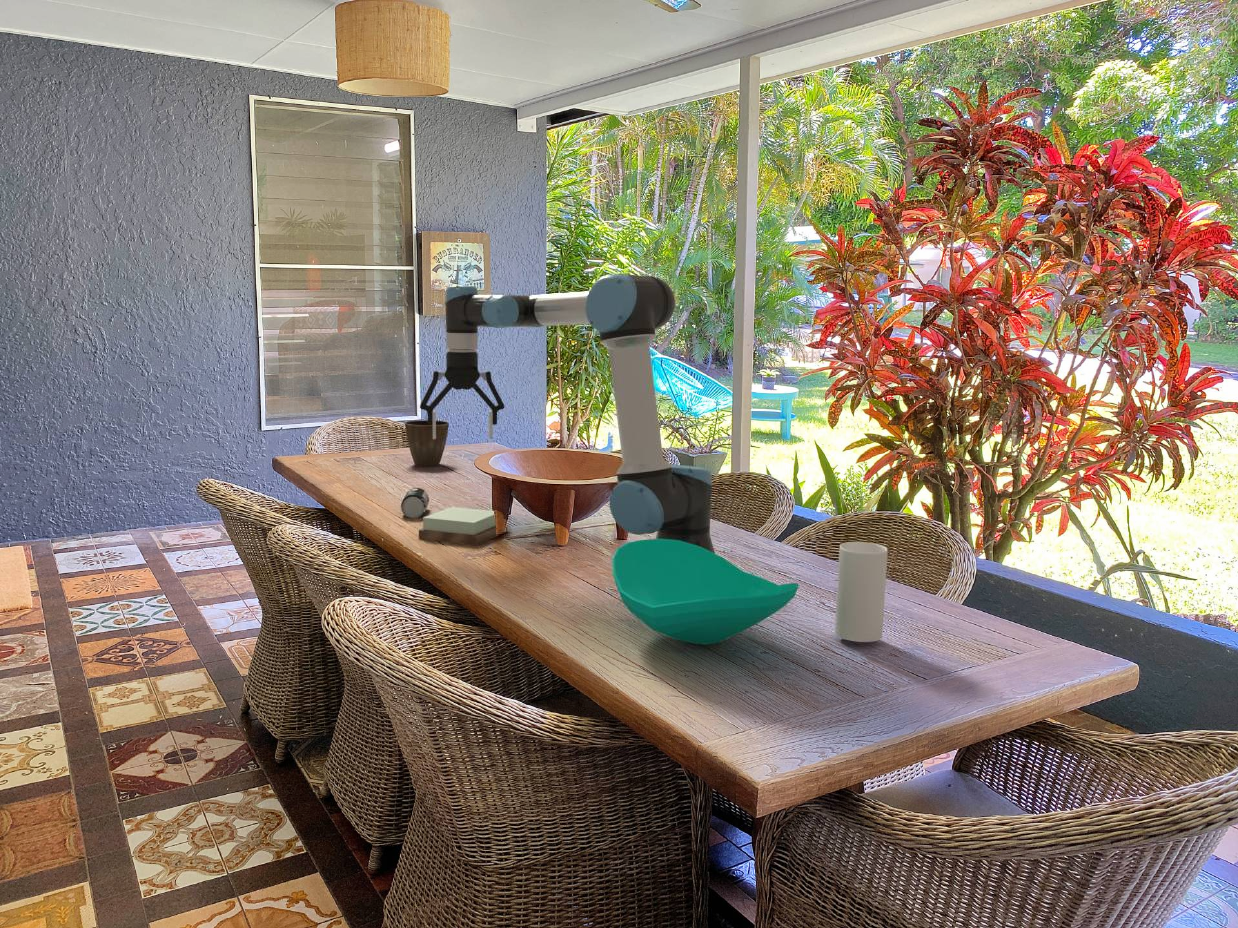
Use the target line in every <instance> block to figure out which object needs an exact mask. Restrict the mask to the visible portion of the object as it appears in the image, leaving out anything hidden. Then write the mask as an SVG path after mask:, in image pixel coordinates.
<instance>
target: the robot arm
mask: <svg viewBox="0 0 1238 928" xmlns="http://www.w3.org/2000/svg"><path fill="white" fill-rule="evenodd" d="M478 293H479V292H478V288H477V287H476V286H473V285H450V286H449V285H448V287H447V288H446V291H445V302H444V306H445V329H446V330H445V348H446V349H447V350H448V351H447V352H446V355H445V358H446V360H445V361H446V369H445V372H444V371H438V370H434V371H433V375H432V379H431V382H430V385H429V386H428V389H427V390H426V392H425V395H424V396H423V399H422V401H421V402H420V405H419V408H420V409H421V410H424V411H426V412H427V420H428V425H433V439H436V421H437V417H436V416H437V415H436V412H437V411H436V410H434V409H435V408H436V407H437V406H438V405H439V403H441V401H442V400H443V399H444V398H445V396H447V394H448V393H449V392H450V391H451V390H452V388H453V389H454V390H457V391H458V390H468V391H469V390H471V389H473V390H474V391H475V392H476V393H477V394H478V396H479V397H480V398H481V399H482V400H483V402H485V405H487V406H488V407H489V408H490V409H491V410H488V438H489V439H490V440H491V439H494V438H493V437H494V436H493V434H494V433H493V432H494V431H493V429H494V427H493V425H498V412H499V411H501V410H504V409H505V404H504V402H503V400H502V397H501V396H500V394H499V392H498V391H497V388H496V386H495V384H494V381H493V380H492V373H491V371H490V370H486V371H479V363H478V362H479V354H478V352H477V350H478V349H479V348H478V347H479V344H478V343H479V341H478V340H479V339H478V338H479V337H478V336H479V335H478V333H479V330H478V327H482V328H483V327H485V328H495V329H504V328H517V327H519V328H540V327H550V326H552V327H553V326H554V327H555V326H577V325H592V328H593V329H595V330H596V331H597V332H599V340H600V344H601V345H603V347H605V348H606V349H607V351H608V355H609V362H610V370H611V379H612V386H613V387H612V388H613V395H614V401H615V404H614V405H615V413H616V418H617V426H618V427H617V428H618V435H619V436H618V438H619V444H620V451H621V459H622V463H621V465H620V466H619V468H618V470H617V471H616V478H617V484H616V485H615V486H614V487H613V489H612V491H611V492H610V495H609V500H608V501H609V510H610V513H611V516H612V517H613V520H614V521H615V523H616V524H617V525H618V526H620V527H621V528H622V530H623V531H625V532H626V533H628V534H631V535H635V536H637V535H638V536H641V535H642V536H643V535H647V534H650V535H651V534H654V533H656V532H657V534H656V536H655V539H669V540H679V541H683V542H686V543H690V544H693V545H696V546H700V547H702V548H704V549H706V550H708V551H710V552H712V553H715V554H716V551H715V548H714V545H713V544H714V543H713V542H712V538H711V510H712V488H713V484H712V473H711V471H710V470H709V469H708V468H705V467H701V466H700V467H699V466H693V465H683V464H672V463H669V462H668V461H667V460H665V459H664V455H663V447H662V446H663V445H662V440H661V439H662V438H661V430H660V423H659V421H660V420H659V413H658V405H657V404H658V403H657V397H656V395H657V394H656V390H655V381H654V380H655V379H654V373H653V363H652V355H651V348H650V345H651V343H652V342H653V341H654V339H655V338H656V330H658V329H660V328H662V327H663V326H665V325H667V323H669V321H670V320H671V319H672V318H673V316H674V312H675V309H676V297H675V293H674V291H673V290H672V288H671V286H670V285H669V284H668V282H666V281H665V280H663V279H661V278H659V277H656V276H652V275H638V274H637V275H636V274H627V273H616V274H608V275H604V276H602V277H600V278H599V279H597V280H596V281H595V282H594V283H593V284H592V287H591V288H590V289H589V290H587V291H576V292H575V291H574V292H562V293H561V292H560V293H548V294H546V293H545V294H532V295H515V294H514V295H513V294H503V293H501V294H498V293H496V294H495V293H494V294H478ZM443 377H444V378H445V380H446V381H447V382H448V383H447V384H446V385H445V386H444V388H443V389H442V390H441V391H440V392H439V394H438V395H437V396H436V397H435V399H433V400H432V402H431V403H430V404H429V405H428V402H429V400H430V398H431V396H432V394H433V393H434V391H435V388H436V386H437V384H438V381H441V380H442V378H443ZM480 378H482V380H483V381H486V384H487V385H488V387H489V389H490V391H491V393H492V395H493V397H494V400H495V401H496V403H497V404H496V405H495V403H493V401H492V400H491V399H490V398H489V397H488V396H487V394H486V393H485V392H484V391H483V389H482V388H480V386H479V385H478V384H477V382H478V380H479V379H480Z"/></svg>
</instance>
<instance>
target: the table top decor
mask: <svg viewBox="0 0 1238 928" xmlns="http://www.w3.org/2000/svg"><path fill="white" fill-rule="evenodd" d="M611 563H612V576H613V579H614V583H615V586H616V588H617V591H618V593H619V596H620V598H621V602H622V603H623V604H624V605H625V607H626V608H627V610H628V611H629V612H630V613H631V614H632V615H634V616H635V617H636V618H637V619H638V620H640V621H641V622H642V623H643V624H645V625H646V626H648V628H650V630H652V631H655V632H657V633H659V634H661V635H664V636H667V637H670V638H672V639H674V640H676V641H677V640H678V641H681V642H687V643H691V644H695V645H696V644H697V645H712V644H718V643H722V642H725V641H726V640H728V639H730V638H732V637H734V636H735V635H738V634H740V633H742V632H744V631H746V630H748V629H750V628H752V627H753V626H755V625H757V624H759V623H761V622H763V621H764V620H766V619H767V618H768V617H771V616H772V615H773V614H775V613H777V612H779V611H780V610H781V609H783V608H784V607H785V606H786V605H787V604H788V603H789V602H791V601H792V599H794V598H795V597H796V593H797V591H798V589H799V584H798V583H799V582H791V583H784V584H783V583H782V584H777V583H774V581H773V582H772V581H770V580H768V579H765V578H763V577H761V576H758V575H755V574H753V573H749V572H746V571H745V570H744V571H743V569H741V568H739V567H737V566H736V565H735V564H733V563H732V562H731V561H729V560H727V559H725V557H722V556H720V555H718V554H717V553H716V552H715V553H712V552H710V551H708V550H706V549H704V548H702V547H700V546H696V545H693V544H690V543H686V542H683V541H679V540H669V539H656V538H649V539H647V538H646V539H638V540H634V541H629V542H627V543H625V544H623V545H621V546H620V547H617V548H616V550H615V553H614V555H613V557H612V560H611Z"/></svg>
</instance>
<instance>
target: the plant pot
mask: <svg viewBox="0 0 1238 928" xmlns="http://www.w3.org/2000/svg"><path fill="white" fill-rule="evenodd" d="M449 425H450V423H449V422H448V421H444V420H436V439H433V425H428V419H426V420H409V421H405V422H404V426H405V434H406V439H407V445H408V447H409V451H410V454H411V458H412V461H413V463H414V466H416V467H419V468H434V467H438V465H439V466H440V464H441V461H442V458H443V455H444V451H445V448H446V444H447V443H446V442H447V439H448V433H449V428H450V427H449Z"/></svg>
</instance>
